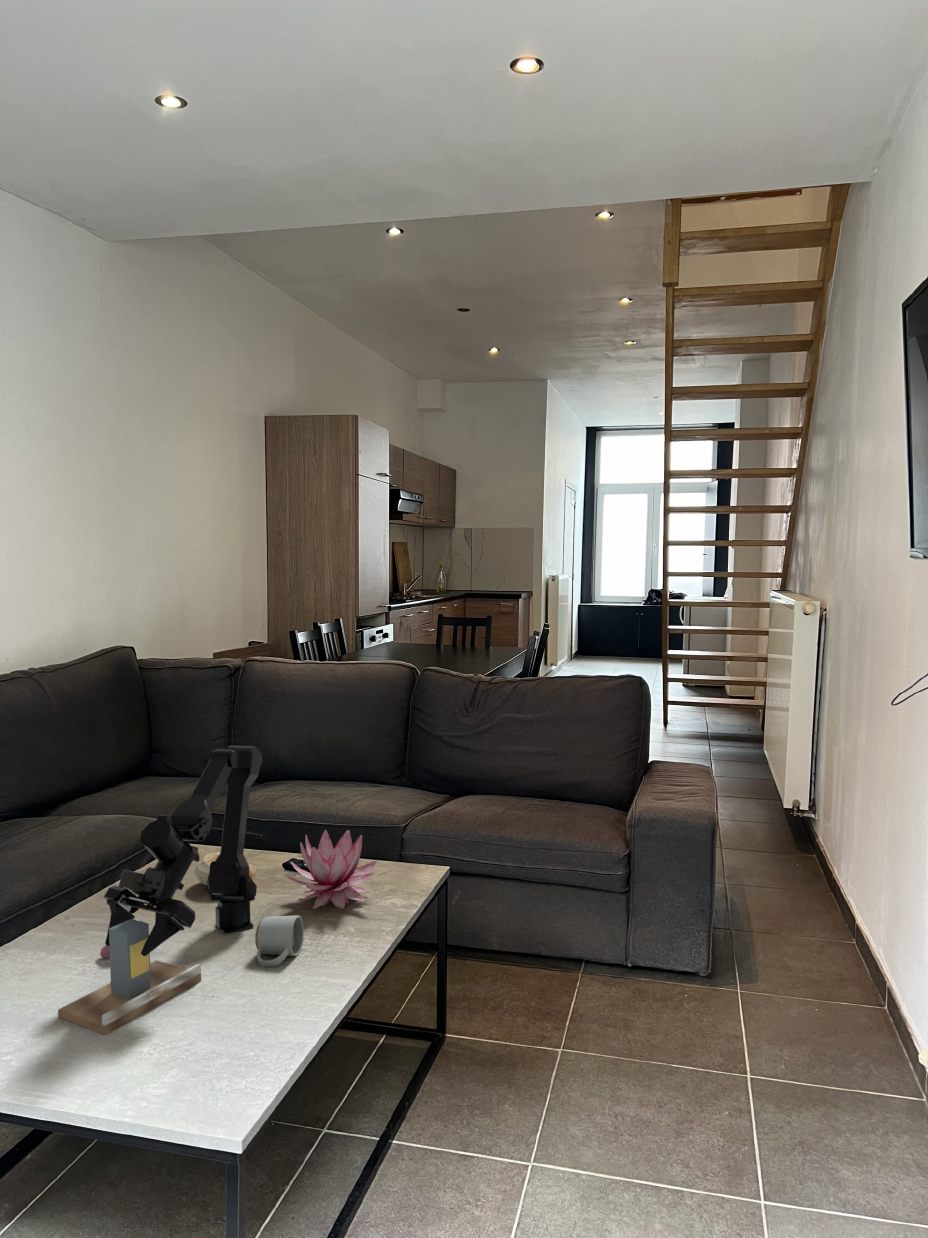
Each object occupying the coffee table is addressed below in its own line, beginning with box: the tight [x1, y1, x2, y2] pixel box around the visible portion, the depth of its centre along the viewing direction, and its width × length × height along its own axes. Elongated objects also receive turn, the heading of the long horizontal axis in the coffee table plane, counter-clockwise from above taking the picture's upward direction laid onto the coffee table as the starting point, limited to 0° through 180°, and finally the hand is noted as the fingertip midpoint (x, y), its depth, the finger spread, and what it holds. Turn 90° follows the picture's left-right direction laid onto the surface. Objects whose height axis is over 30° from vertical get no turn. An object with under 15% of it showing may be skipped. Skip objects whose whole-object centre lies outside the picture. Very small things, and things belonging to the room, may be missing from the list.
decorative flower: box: [284, 829, 379, 910], centre depth 210 cm, size 21×21×15 cm
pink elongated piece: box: [99, 918, 144, 959], centre depth 184 cm, size 10×5×7 cm, turn 170°
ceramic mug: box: [254, 915, 305, 968], centre depth 180 cm, size 11×8×8 cm
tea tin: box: [108, 918, 151, 999], centre depth 163 cm, size 5×5×12 cm
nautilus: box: [193, 848, 257, 886], centre depth 224 cm, size 8×22×15 cm
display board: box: [57, 959, 202, 1035], centre depth 163 cm, size 22×12×3 cm, turn 151°
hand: (124, 950), depth 162 cm, fingers open, 9 cm apart
